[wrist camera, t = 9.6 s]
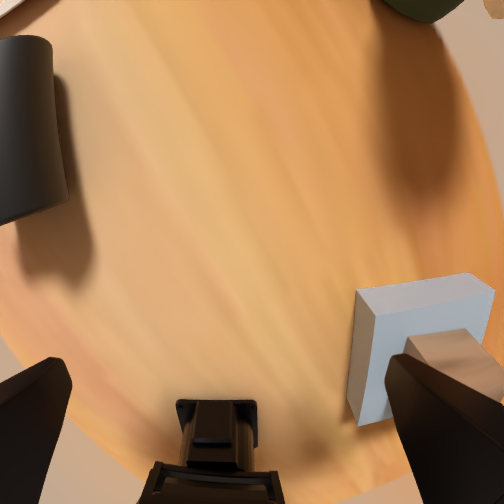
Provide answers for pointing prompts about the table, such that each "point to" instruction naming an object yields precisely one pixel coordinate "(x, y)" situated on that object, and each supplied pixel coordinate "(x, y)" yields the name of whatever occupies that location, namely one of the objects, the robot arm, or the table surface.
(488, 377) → the walnut block
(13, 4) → the plate
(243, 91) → the table surface
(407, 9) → the character mug
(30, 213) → the end cap
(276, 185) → the table surface
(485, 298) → the slate block
